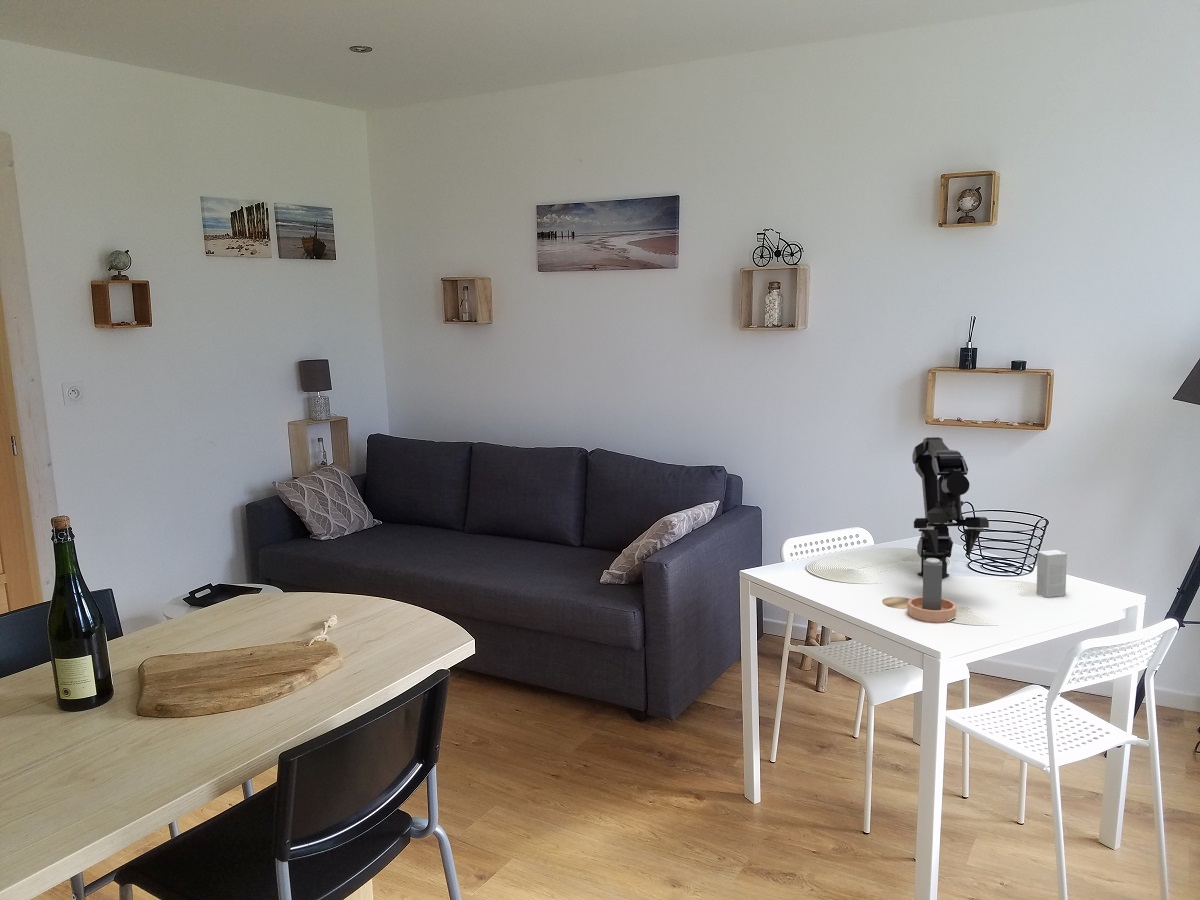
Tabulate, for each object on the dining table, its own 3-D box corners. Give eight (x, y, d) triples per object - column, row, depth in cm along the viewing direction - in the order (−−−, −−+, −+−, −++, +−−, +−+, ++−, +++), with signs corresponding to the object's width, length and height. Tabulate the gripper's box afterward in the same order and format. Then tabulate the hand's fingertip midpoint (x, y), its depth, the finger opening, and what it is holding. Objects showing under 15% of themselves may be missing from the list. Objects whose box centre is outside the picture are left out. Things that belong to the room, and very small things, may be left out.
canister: (922, 607, 225) (923, 556, 223) (941, 609, 223) (942, 557, 221) (922, 613, 221) (923, 561, 219) (941, 614, 219) (942, 562, 217)
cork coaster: (876, 605, 232) (876, 603, 232) (890, 596, 239) (891, 594, 238) (908, 612, 226) (908, 610, 226) (922, 603, 232) (922, 601, 232)
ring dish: (898, 613, 224) (898, 602, 224) (927, 604, 230) (927, 593, 230) (936, 626, 214) (936, 614, 214) (965, 616, 220) (965, 605, 220)
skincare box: (1055, 591, 237) (1056, 549, 235) (1065, 596, 233) (1067, 553, 231) (1035, 593, 236) (1037, 551, 234) (1045, 598, 232) (1047, 555, 230)
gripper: (902, 497, 235) (904, 554, 234) (968, 495, 221) (971, 555, 220) (922, 499, 243) (925, 554, 241) (988, 496, 229) (991, 555, 227)
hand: (951, 555), depth 232 cm, fingers open, 9 cm apart
